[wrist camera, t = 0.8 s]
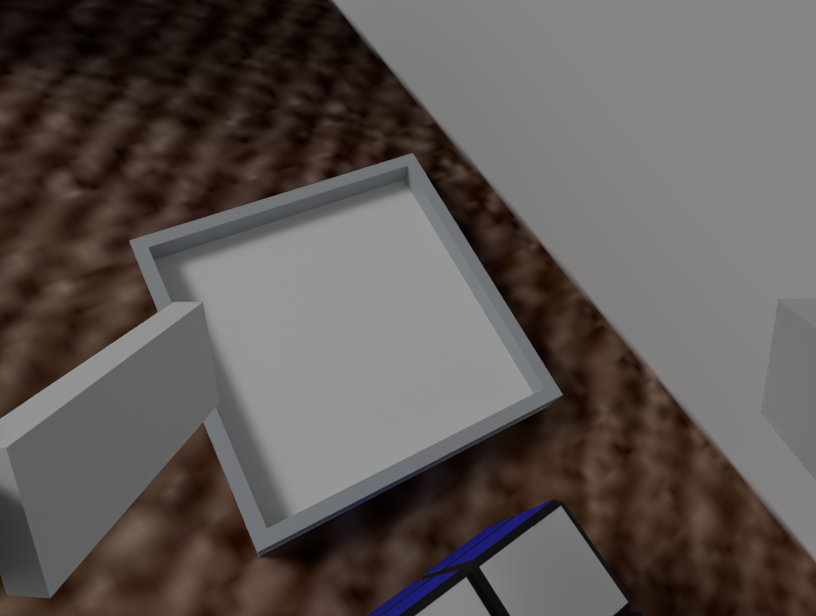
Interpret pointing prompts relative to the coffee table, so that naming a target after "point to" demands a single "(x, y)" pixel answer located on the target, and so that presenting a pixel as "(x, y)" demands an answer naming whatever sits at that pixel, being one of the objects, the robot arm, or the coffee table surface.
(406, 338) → the shallow square tray
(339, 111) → the coffee table surface
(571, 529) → the puzzle cube
